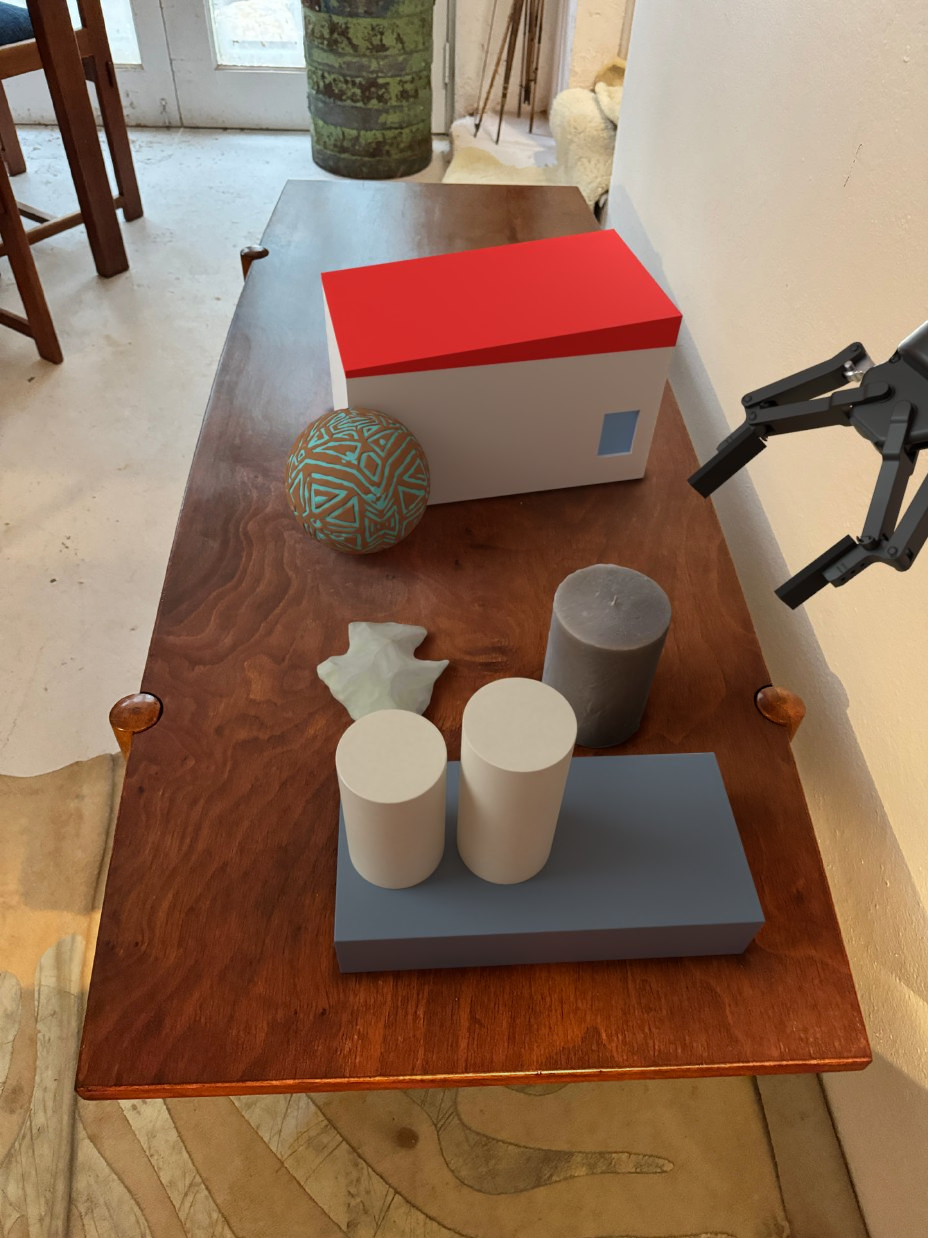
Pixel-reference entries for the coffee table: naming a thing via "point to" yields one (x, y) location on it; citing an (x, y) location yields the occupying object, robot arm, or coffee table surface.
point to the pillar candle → (606, 649)
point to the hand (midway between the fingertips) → (736, 542)
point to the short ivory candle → (393, 796)
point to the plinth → (573, 880)
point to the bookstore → (509, 360)
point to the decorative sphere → (357, 480)
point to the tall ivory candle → (512, 777)
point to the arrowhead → (381, 670)
